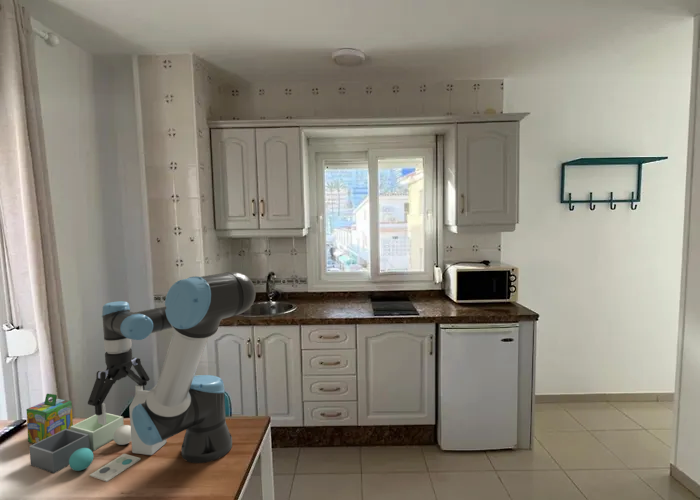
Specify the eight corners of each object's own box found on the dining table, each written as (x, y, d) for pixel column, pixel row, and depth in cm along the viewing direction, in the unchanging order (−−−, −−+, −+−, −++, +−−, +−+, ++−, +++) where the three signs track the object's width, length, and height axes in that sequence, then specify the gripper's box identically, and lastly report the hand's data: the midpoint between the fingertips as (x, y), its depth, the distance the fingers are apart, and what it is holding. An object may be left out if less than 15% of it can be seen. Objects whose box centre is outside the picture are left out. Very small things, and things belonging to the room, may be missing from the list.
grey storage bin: (90, 453, 125) (88, 434, 125) (54, 473, 115) (52, 453, 115) (67, 446, 129) (66, 428, 129) (30, 465, 119) (29, 446, 119)
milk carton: (151, 455, 123) (148, 396, 122) (132, 453, 125) (128, 394, 123) (166, 443, 130) (163, 386, 129) (147, 440, 132) (144, 385, 130)
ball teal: (98, 465, 119) (97, 445, 118) (78, 477, 113) (77, 457, 113) (85, 460, 121) (83, 442, 121) (64, 472, 116) (63, 452, 115)
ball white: (139, 440, 132) (138, 423, 131) (122, 450, 126) (121, 432, 126) (126, 437, 134) (125, 420, 134) (109, 446, 129) (108, 428, 128)
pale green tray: (124, 433, 136) (123, 416, 136) (94, 450, 126) (92, 432, 126) (102, 428, 140) (101, 411, 140) (71, 444, 130) (70, 426, 130)
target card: (140, 459, 121) (140, 457, 121) (106, 481, 111) (106, 479, 111) (124, 454, 124) (124, 453, 124) (89, 476, 114) (89, 474, 114)
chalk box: (27, 443, 132) (23, 399, 131) (55, 428, 140) (51, 388, 139) (47, 447, 129) (44, 403, 128) (74, 432, 138) (71, 391, 137)
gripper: (142, 337, 141) (145, 395, 143) (71, 361, 118) (75, 430, 119) (158, 339, 138) (161, 398, 140) (88, 365, 115) (92, 435, 117)
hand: (122, 413), depth 130 cm, fingers open, 13 cm apart
